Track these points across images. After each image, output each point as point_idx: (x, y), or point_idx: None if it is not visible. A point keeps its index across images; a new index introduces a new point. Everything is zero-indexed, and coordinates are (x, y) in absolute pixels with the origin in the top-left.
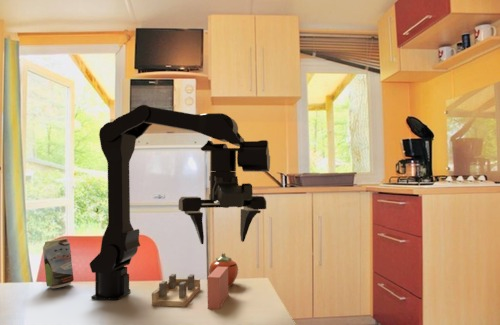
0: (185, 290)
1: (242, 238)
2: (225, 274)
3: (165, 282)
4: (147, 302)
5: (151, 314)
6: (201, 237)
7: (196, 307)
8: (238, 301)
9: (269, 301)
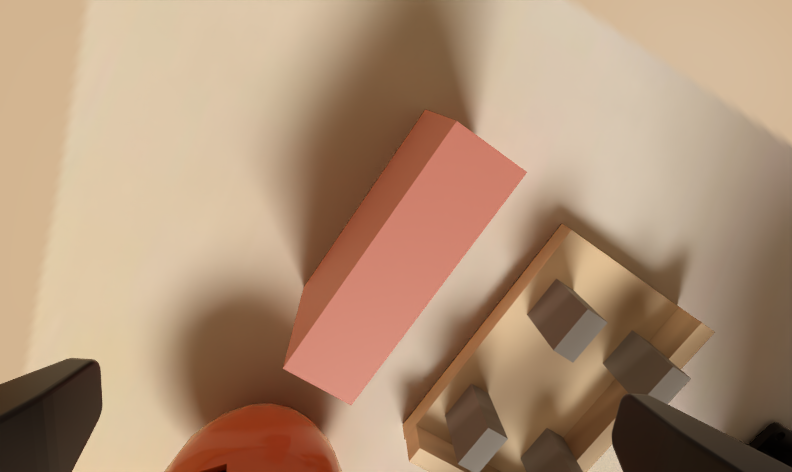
0: (546, 317)
1: (75, 378)
2: (335, 283)
3: (651, 388)
4: None
5: (722, 193)
6: (711, 432)
7: None
8: (291, 169)
9: (124, 86)
